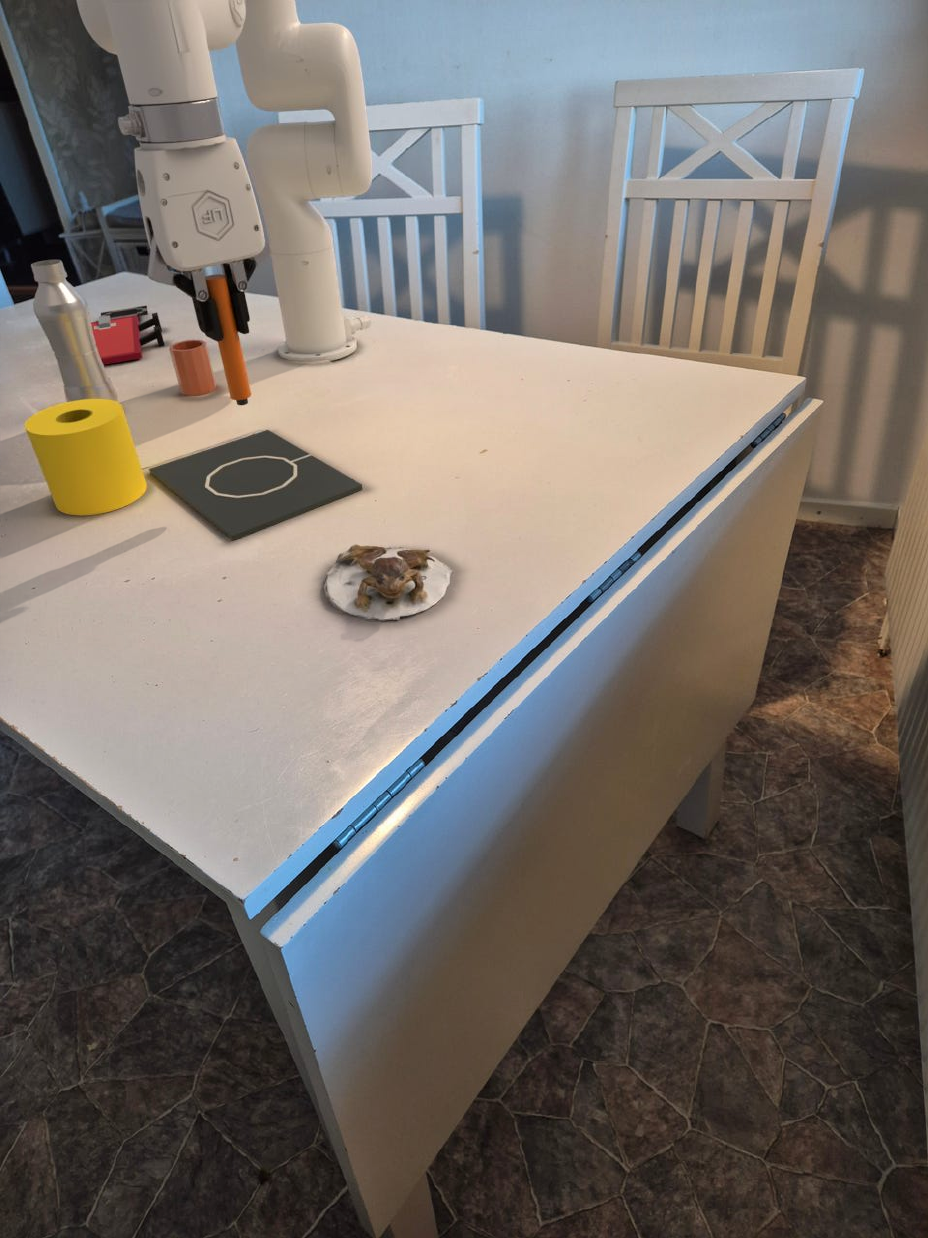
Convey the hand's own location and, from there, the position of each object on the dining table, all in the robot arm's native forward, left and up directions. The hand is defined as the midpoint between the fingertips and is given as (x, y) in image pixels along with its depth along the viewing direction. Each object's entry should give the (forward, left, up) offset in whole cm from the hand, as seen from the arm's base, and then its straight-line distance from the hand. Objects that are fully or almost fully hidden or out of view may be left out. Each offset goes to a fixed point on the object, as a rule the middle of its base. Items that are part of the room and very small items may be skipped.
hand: (227, 333), depth 83 cm
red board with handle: (-9, -71, -17) cm, 73 cm away
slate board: (0, -2, -17) cm, 17 cm away
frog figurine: (+1, +27, -17) cm, 33 cm away
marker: (0, 0, -8) cm, 8 cm away
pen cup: (-8, -34, -17) cm, 38 cm away
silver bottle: (+6, -37, -17) cm, 41 cm away
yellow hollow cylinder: (+15, -11, -17) cm, 25 cm away
